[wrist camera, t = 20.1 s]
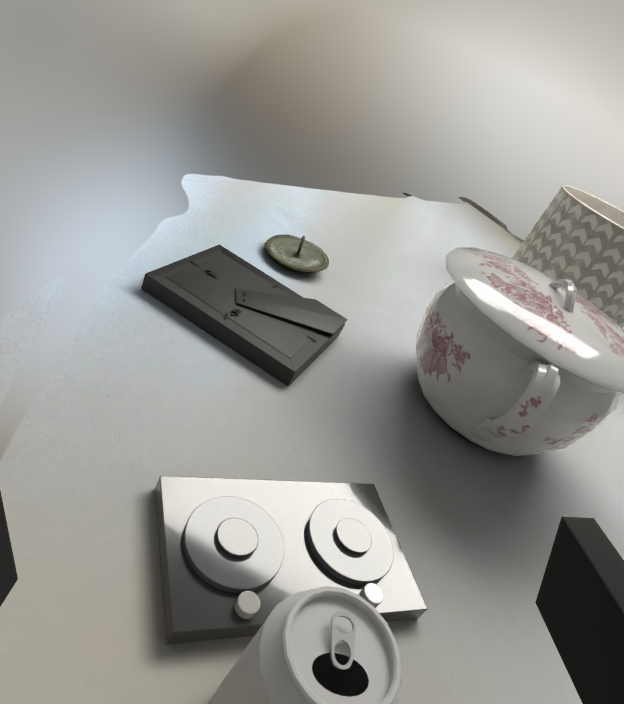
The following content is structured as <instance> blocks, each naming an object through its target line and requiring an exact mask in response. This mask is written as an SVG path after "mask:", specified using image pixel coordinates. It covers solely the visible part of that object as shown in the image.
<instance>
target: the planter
mask: <svg viewBox="0 0 624 704" xmlns="http://www.w3.org/2000/svg"><path fill="white" fill-rule="evenodd" d="M512 259H514V260H517V261H519V262H522V263H524V264H527V265H529V266H531V267H533V268H535V269H537V270H539V271H541V272H543V273H545V274H547V275H548V276H550V277H552V278H554V279H555V280H561V279H568V280H571V281H572V282H573V283H574V285H575V287H576V289H577V293H578V294H579V295H581V296H582V297H584V298H585V299H587V300H588V301H589V302H591V303H592V304H594V305H595V306H596V307H598V308H599V309H600V310H602V311H603V312H604V313H605V314H606V315H608V316H609V317H610V318H611V319H612V320H614V321H615V322H616V323H617V324H618V325H620V326H621V327H623V326H624V211H622V210H620V209H618V208H617V207H615V206H613V205H611V204H609V203H607V202H605V201H603V200H601V199H599V198H597V197H595V196H593V195H591V194H589V193H586V192H584V191H582V190H580V189H577V188H574V187H571V186H568V185H563V186H562V187H561V189H560V190H559V192H558V193H557V194H556V196H555V197H554V199H553V200H552V202H551V203H550V204H549V206H548V207H547V209H546V210H545V212H544V213H543V215H542V216H541V217H540V219H539V220H538V222H537V223H536V225H535V226H534V228H533V229H532V230H531V232H530V234H529V235H528V236H527V238H526V239H525V241H524V242H523V243H522V245H521V246H520V248H519V249H518V251H517V252H516V253H515V255H514V256H513V258H512Z"/></svg>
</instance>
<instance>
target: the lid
mask: <svg viewBox="0 0 624 704" xmlns="http://www.w3.org/2000/svg"><path fill="white" fill-rule="evenodd" d="M264 247H265V250H266V252H267V253H268V254H269V256H270V257H272V258H273V259H274V260H276V261H277V262H279V263H280V264H282V265H284V266H286V267H288V268H291V269H294V270H298V271H303V272H319V271H322V270H324V269H326V268H327V267H328V265H329V260H328V257H327V255H326V254H325V253H324V252H323V250H322V249H320V248H319V247H318V246H316V245H314V244H313V243H311V242H309V241H306V240H305V236H303V237H302V239H301V238H298V237H295V236H291V235H276V236H273V237H271V238H269V239H268V240H267V241H266V242H265V246H264Z"/></svg>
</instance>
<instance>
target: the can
mask: <svg viewBox="0 0 624 704" xmlns="http://www.w3.org/2000/svg"><path fill="white" fill-rule="evenodd" d="M401 670H402V662H401V658H400V654H399V649H398V645H397V642H396V640H395V638H394V636H393V634H392V632H391V630H390V628H389V626H388V624H387V622H386V621H385V620H384V618H383V617H382V616H381V615H380V614H379V612H378V611H377V610H376V609H375V607H374V606H372V605H371V604H370V603H368V602H367V601H366V600H364V599H363V598H362V597H361V596H359V595H358V594H355V593H353V592H351V591H348V590H346V589H343V588H339V587H330V586H323V587H319V588H315V589H309V590H305V591H301V592H297V593H293V594H291V595H290V596H288V597H287V598H286V599H284V600H283V601H281V602H280V603H278V604H277V605H276V606H275V608H274V609H273V611H272V612H271V614H270V615H269V616H268V618H267V619H266V621H265V622H264V624H263V625H262V626H261V628H260V629H259V631H258V632H257V633H256V635H255V636H254V638H253V639H252V641H251V642H250V643H249V645H248V646H247V648H246V649H245V650H244V652H243V653H242V655H241V656H240V658H239V659H238V660H237V662H236V663H235V665H234V666H233V668H232V669H231V670H230V672H229V673H228V675H227V676H226V677H225V679H224V680H223V682H222V683H221V685H220V686H219V688H218V689H217V691H216V692H215V694H214V695H213V697H212V698H211V700H210V701H209V704H398V697H399V688H400V685H401Z"/></svg>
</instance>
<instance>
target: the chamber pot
mask: <svg viewBox="0 0 624 704" xmlns="http://www.w3.org/2000/svg"><path fill="white" fill-rule="evenodd" d="M446 268H447V271H448V273H449V275H450V276H451V278H452V280H453V282H451V283H449V284H447V285H446V286H444V287H443V288H442V289H441V290H440V291H438V292H437V293H436V295H435V297H434V298H433V300H432V301H431V303H430V304H429V306H428V308H427V309H426V312H425V315H424V318H423V320H422V323H421V326H420V329H419V331H418V334H417V345H416V356H417V377H418V380H419V383H420V386H421V389H422V391H423V394H424V397H425V398H426V399H427V401H428V402H429V404H430V405H431V406H432V408H433V409H434V411H435V412H436V413H437V414H438V415H439V416H440V417H441V418H442V419H443V420H444V421H445V422H446V423H447V424H448V425H449V426H450V427H451V428H453V429H454V430H456V431H457V432H458V433H460V434H461V435H463V436H464V437H466V438H467V439H468V440H470V441H472V442H474V443H476V444H478V445H480V446H482V447H484V448H486V449H488V450H490V451H494V452H498V453H501V454H505V455H512V456H521V455H534V454H539V453H544V452H549V451H554V450H559V449H564V448H566V447H567V446H569V445H570V444H572V443H574V442H575V441H577V440H578V439H580V438H581V437H583V436H585V435H586V434H588V433H589V432H591V431H592V430H593V429H595V428H596V427H597V426H599V425H600V424H601V423H602V422H603V421H604V420H605V419H606V418H607V417H608V416H609V415H610V414H611V413H612V412H613V411H614V410H615V409H616V407H617V402H618V396H619V393H620V394H624V330H623V329H622V327H621V326H620V325H618V324H617V323H616V322H615V321H614V320H612V319H611V318H610V317H609V316H608V315H606V314H605V313H604V312H603V311H602V310H600V309H599V308H598V307H596V306H595V305H594V304H592V303H591V302H589V301H588V300H587V299H585V298H584V297H582V296H581V295H579V294H578V293H577V289H576V287H575V285H574V283H573V282H572V281H571V280H568V279H561V280H555V279H554V278H552V277H550V276H548V275H547V274H545V273H543V272H541V271H539V270H537V269H535V268H533V267H531V266H529V265H527V264H524V263H522V262H519V261H517V260H514V259H512V258H509V257H507V256H504V255H500V254H497V253H494V252H490V251H486V250H482V249H478V248H456V249H454V250H452V251H451V252H449V253H448V254H447V255H446Z"/></svg>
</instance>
